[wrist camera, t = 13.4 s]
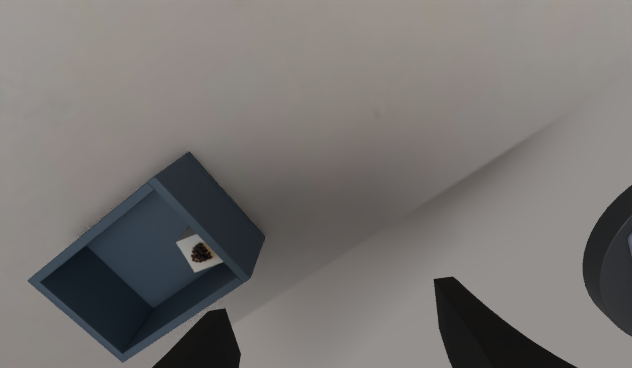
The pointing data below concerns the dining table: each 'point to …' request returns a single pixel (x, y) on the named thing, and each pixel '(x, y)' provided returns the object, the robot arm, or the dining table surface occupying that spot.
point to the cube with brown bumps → (197, 251)
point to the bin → (152, 260)
